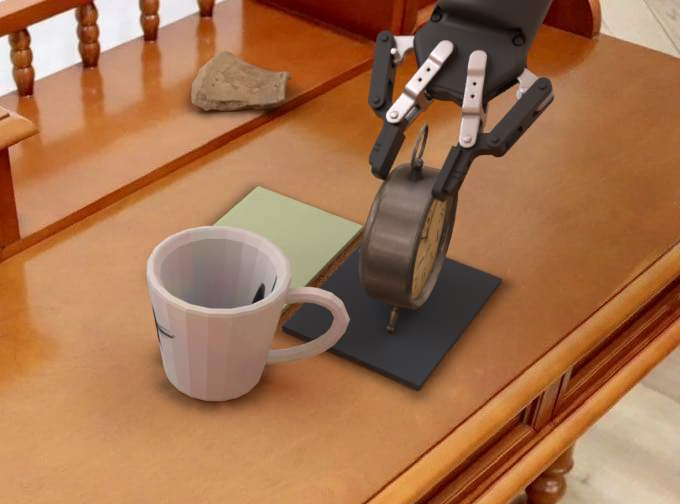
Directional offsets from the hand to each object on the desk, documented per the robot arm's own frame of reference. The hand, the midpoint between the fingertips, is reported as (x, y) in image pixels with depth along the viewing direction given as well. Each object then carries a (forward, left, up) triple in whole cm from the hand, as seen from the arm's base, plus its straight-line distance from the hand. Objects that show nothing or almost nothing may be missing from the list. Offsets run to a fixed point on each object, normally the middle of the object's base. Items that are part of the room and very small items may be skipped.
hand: (407, 186), depth 81 cm
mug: (+6, +12, -13) cm, 19 cm away
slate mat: (0, -2, -13) cm, 13 cm away
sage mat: (+12, -2, -13) cm, 18 cm away
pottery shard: (+29, -25, -13) cm, 40 cm away
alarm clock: (0, -2, -12) cm, 12 cm away
